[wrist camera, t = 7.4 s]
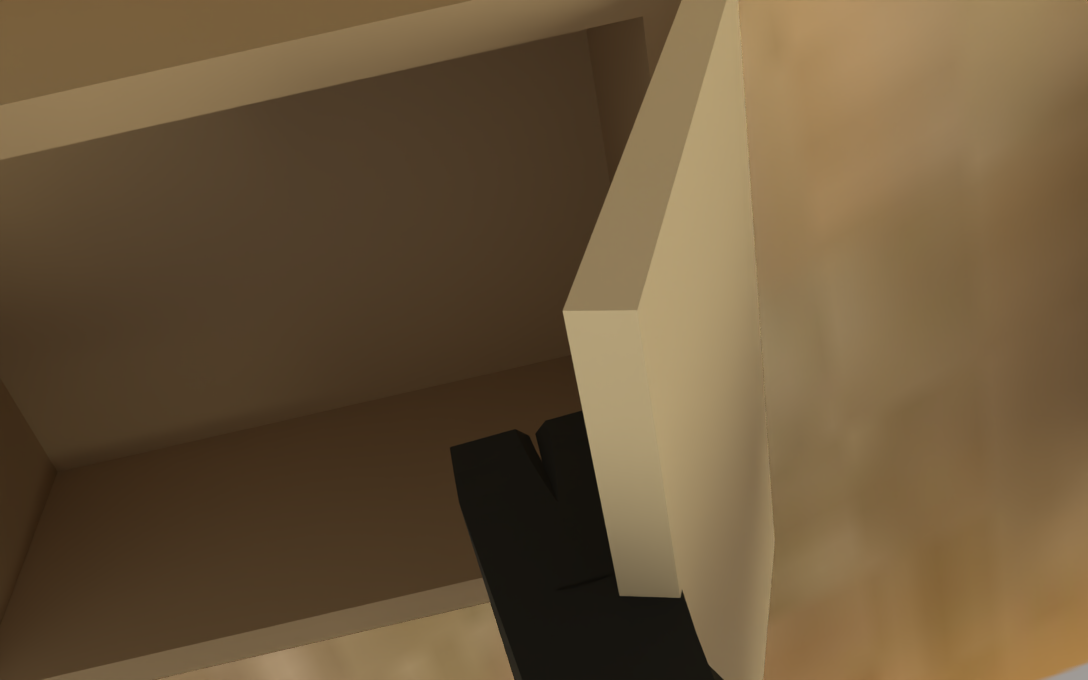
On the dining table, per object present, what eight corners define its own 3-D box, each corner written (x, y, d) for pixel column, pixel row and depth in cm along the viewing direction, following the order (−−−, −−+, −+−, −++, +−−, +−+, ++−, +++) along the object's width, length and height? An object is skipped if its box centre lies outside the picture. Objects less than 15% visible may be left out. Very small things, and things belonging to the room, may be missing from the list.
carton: (593, -142, 14) (688, -49, 10) (659, 340, 18) (743, 543, 14) (-224, 39, 14) (-478, 211, 10) (49, 480, 18) (-45, 725, 14)
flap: (691, -29, 10) (736, -34, 10) (745, 541, 14) (774, 542, 14) (563, 311, 5) (637, 308, 5) (695, 972, 10) (737, 980, 10)
